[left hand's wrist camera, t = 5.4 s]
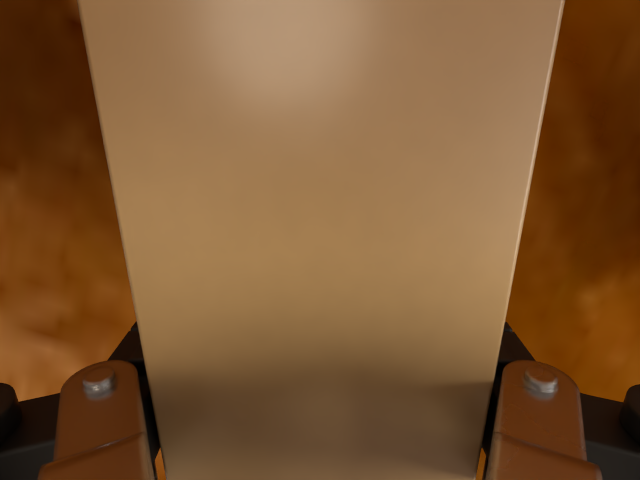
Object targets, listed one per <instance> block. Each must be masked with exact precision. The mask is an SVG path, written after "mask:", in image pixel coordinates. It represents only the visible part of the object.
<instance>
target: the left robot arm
mask: <svg viewBox="0 0 640 480" xmlns="http://www.w3.org/2000/svg"><path fill="white" fill-rule="evenodd" d="M481 448H483V449H484V452H485V454H486V460H485V465H484V470H483V476H482V480H640V384H639V385H635V386H632V387H631V388H629V389H628V391H627V393H626V396H625V399H624V402H618V401H614V400H609V399H604V398H600V397H595V396H590V395H586V394H582V393H580V392H579V388H578V386H577V385H576V383H575V382H574V381H573V380H572V379H571V378H570V377H569V376H568V375H566V374H565V373H564V372H562V371H560V370H559V369H557V368H555V367H553V366H550V365H548V364H545V363H541V362H537V361H535V359H534V358H533V357H532V355H531V354H530V353H529V351H528V350H527V349H526V347H525V346H524V345H523V343H522V342H521V341H520V339H519V338H518V337H517V335H516V334H515V333H514V332H512V329H511V327H510V326H509V325H508V323H507V322H505V324H504V329H503V334H502V340H501V345H500V350H499V356H498V361H497V366H496V372H495V377H494V382H493V388H492V393H491V398H490V404H489V409H488V414H487V420H486V425H485V430H484V436H483V441H482V446H481ZM159 449H160V442H159V437H158V431H157V426H156V421H155V415H154V410H153V405H152V399H151V394H150V389H149V383H148V378H147V373H146V367H145V362H144V356H143V351H142V346H141V340H140V335H139V330H138V324H137V321H136V322H135V324H134V325H133V326H132V328H131V331H129V332H128V333H127V335H126V336H125V337H124V339H123V340H122V341H121V343H120V344H119V345H118V347H117V348H116V349H115V351H114V352H113V354H112V355H111V356H110V358H109V359H108V360H107V361H103V362H99V363H95V364H92V365H90V366H87V367H85V368H83V369H81V370H80V371H78V372H76V373H75V374H74V375H72V376H71V377H70V378H69V379H68V380H67V381H66V382H65V383H64V385H63V386H62V388H61V392H60V393H57V394H53V395H49V396H44V397H39V398H35V399H30V400H25V401H21V402H18V399H17V396H16V393H15V390H14V389H13V387H11V386H10V385H8V384H5V383H0V480H158V476H157V470H156V465H155V458H156V456H157V454H158V451H159Z"/></svg>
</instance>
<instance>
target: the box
mask: <svg viewBox="0 0 640 480" xmlns="http://www.w3.org/2000/svg"><path fill="white" fill-rule="evenodd" d="M564 3H565V0H77V4H78V9H79V15H80V20H81V25H82V31H83V36H84V41H85V47H86V52H87V57H88V63H89V68H90V73H91V79H92V84H93V89H94V95H95V100H96V105H97V111H98V116H99V121H100V127H101V132H102V137H103V143H104V148H105V153H106V159H107V164H108V169H109V175H110V180H111V186H112V191H113V196H114V202H115V207H116V212H117V218H118V223H119V228H120V234H121V239H122V244H123V250H124V255H125V260H126V266H127V271H128V276H129V282H130V287H131V292H132V298H133V303H134V308H135V314H136V319H137V324H138V330H139V335H140V340H141V346H142V351H143V356H144V362H145V367H146V373H147V378H148V383H149V389H150V394H151V399H152V405H153V410H154V415H155V421H156V426H157V431H158V437H159V442H160V447H161V453H162V458H163V463H164V469H165V474H166V479H167V480H475V478H476V473H477V468H478V462H479V457H480V452H481V446H482V441H483V436H484V430H485V425H486V420H487V414H488V409H489V404H490V398H491V393H492V388H493V382H494V377H495V372H496V366H497V361H498V356H499V350H500V345H501V340H502V334H503V329H504V324H505V318H506V313H507V308H508V302H509V297H510V291H511V286H512V281H513V275H514V270H515V265H516V259H517V254H518V249H519V243H520V238H521V233H522V227H523V222H524V217H525V211H526V206H527V201H528V195H529V190H530V185H531V179H532V174H533V169H534V163H535V158H536V153H537V147H538V142H539V137H540V131H541V126H542V121H543V115H544V110H545V105H546V99H547V94H548V89H549V83H550V78H551V73H552V67H553V62H554V57H555V51H556V46H557V41H558V35H559V30H560V24H561V19H562V14H563V8H564Z"/></svg>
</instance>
